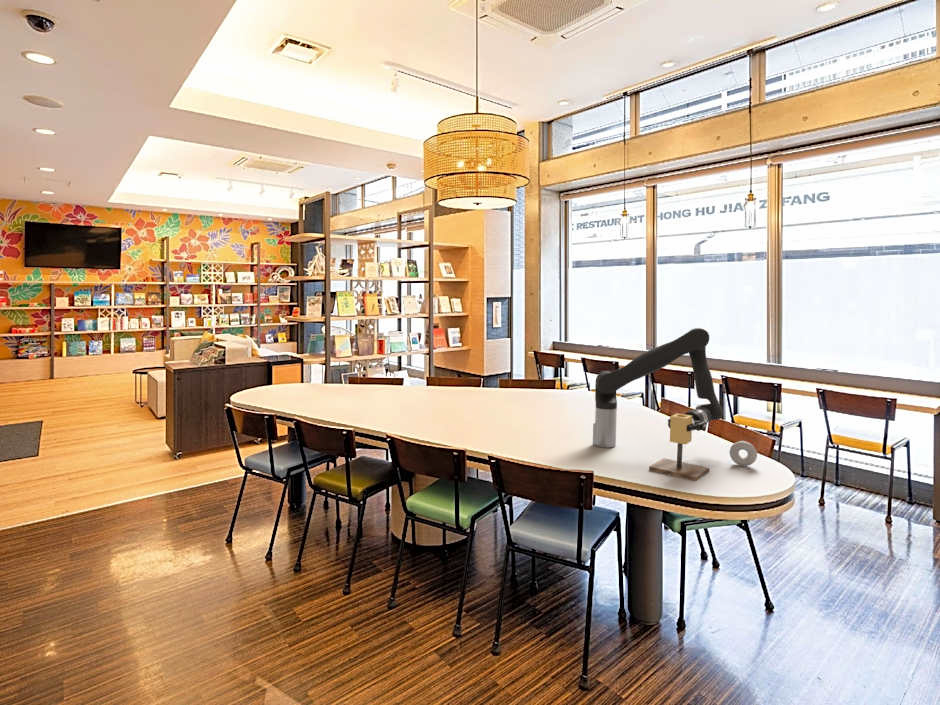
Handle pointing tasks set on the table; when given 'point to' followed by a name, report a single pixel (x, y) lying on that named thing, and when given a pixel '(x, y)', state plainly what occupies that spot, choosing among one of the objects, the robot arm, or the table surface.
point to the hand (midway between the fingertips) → (678, 427)
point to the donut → (747, 447)
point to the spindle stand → (679, 467)
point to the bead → (680, 429)
